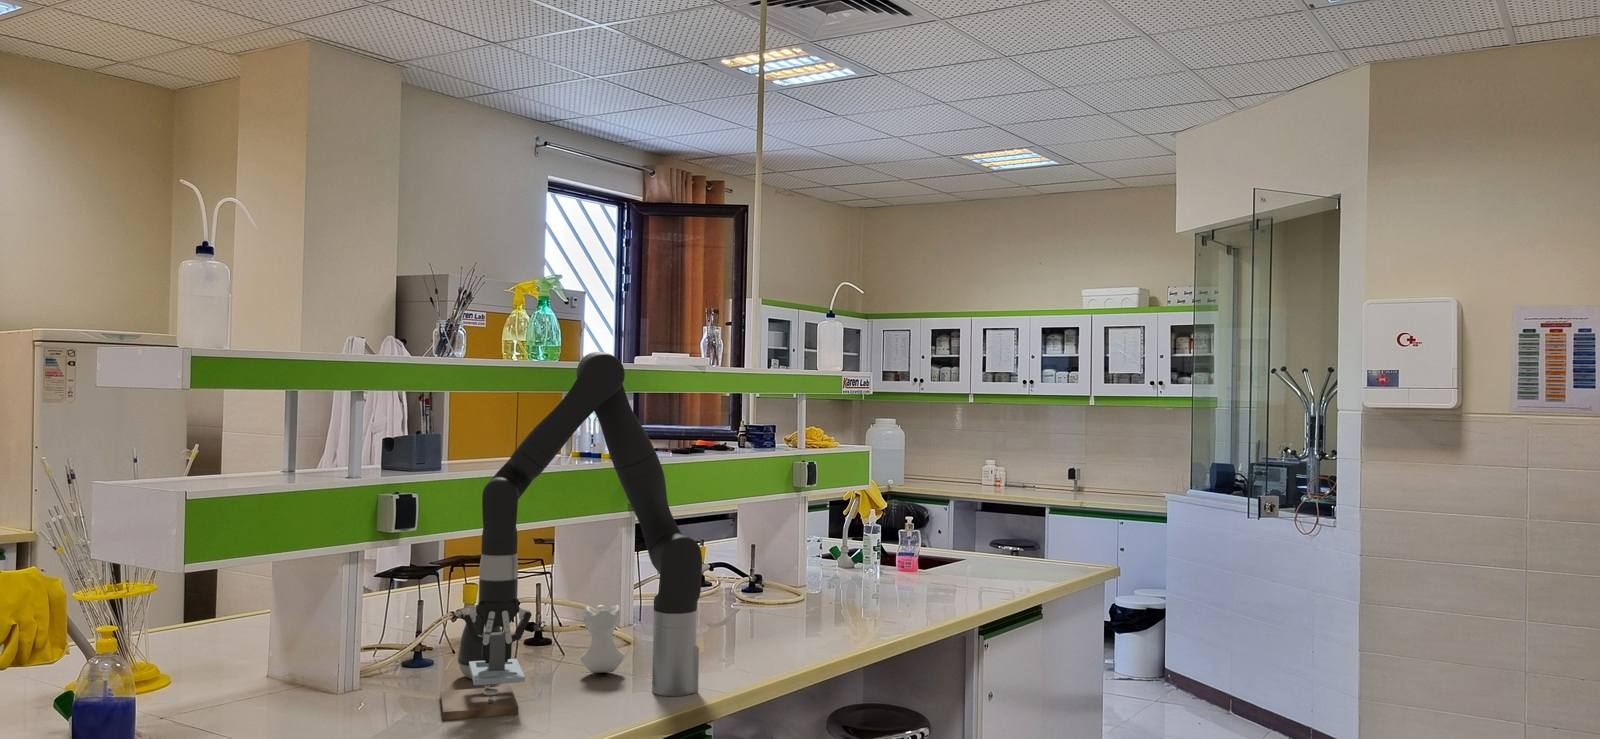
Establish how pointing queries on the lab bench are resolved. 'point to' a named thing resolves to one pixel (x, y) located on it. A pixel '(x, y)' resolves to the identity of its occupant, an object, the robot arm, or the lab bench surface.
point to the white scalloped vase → (602, 639)
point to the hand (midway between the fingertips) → (496, 661)
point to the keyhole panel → (506, 674)
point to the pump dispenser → (471, 646)
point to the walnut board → (478, 702)
